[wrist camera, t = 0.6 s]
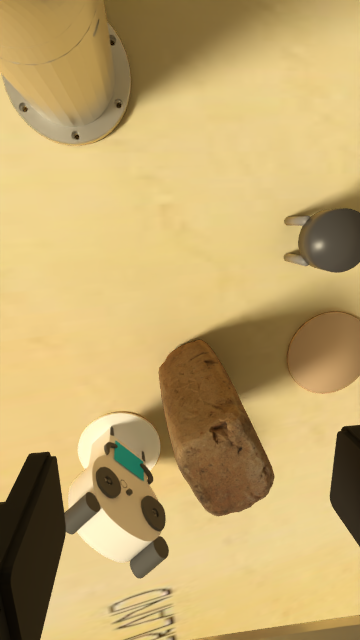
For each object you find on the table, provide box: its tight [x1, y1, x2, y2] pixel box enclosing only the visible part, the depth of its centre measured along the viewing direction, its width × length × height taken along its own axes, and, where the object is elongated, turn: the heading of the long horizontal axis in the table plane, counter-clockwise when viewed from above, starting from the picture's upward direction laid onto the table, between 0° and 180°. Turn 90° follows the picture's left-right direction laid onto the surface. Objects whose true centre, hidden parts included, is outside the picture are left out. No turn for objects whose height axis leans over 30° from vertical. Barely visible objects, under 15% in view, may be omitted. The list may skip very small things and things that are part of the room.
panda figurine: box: [64, 412, 169, 578], centre depth 41 cm, size 12×11×15 cm
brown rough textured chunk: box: [159, 340, 274, 516], centre depth 36 cm, size 11×8×20 cm
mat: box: [287, 312, 360, 394], centre depth 47 cm, size 12×12×1 cm
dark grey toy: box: [284, 209, 360, 272], centre depth 39 cm, size 6×6×8 cm
